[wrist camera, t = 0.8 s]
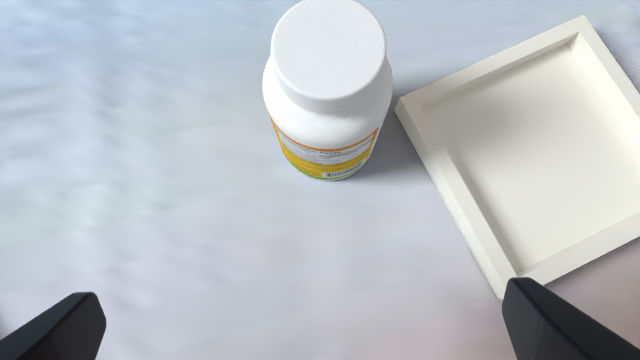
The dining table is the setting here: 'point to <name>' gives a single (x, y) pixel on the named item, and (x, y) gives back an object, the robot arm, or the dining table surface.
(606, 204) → the dish
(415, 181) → the dining table surface
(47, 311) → the robot arm
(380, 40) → the supplement bottle
